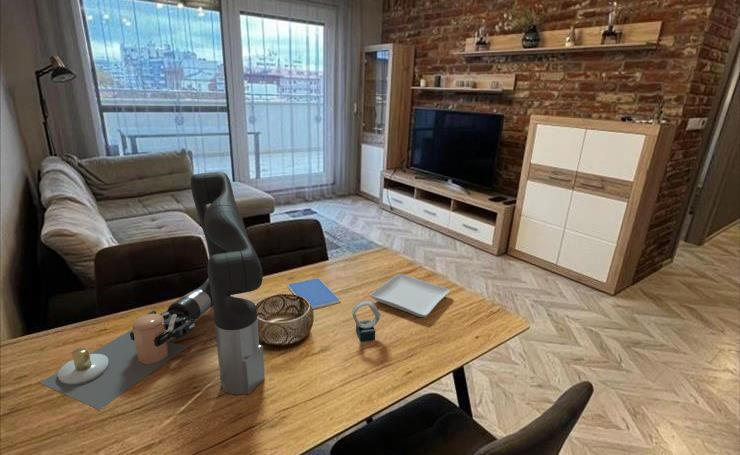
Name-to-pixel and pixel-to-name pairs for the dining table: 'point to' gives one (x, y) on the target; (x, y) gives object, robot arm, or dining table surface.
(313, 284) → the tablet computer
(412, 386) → the dining table surface
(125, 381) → the rubber mat
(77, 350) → the brass weight
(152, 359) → the domed octagonal post
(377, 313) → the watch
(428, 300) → the salad plate
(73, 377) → the saucer
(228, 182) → the robot arm
